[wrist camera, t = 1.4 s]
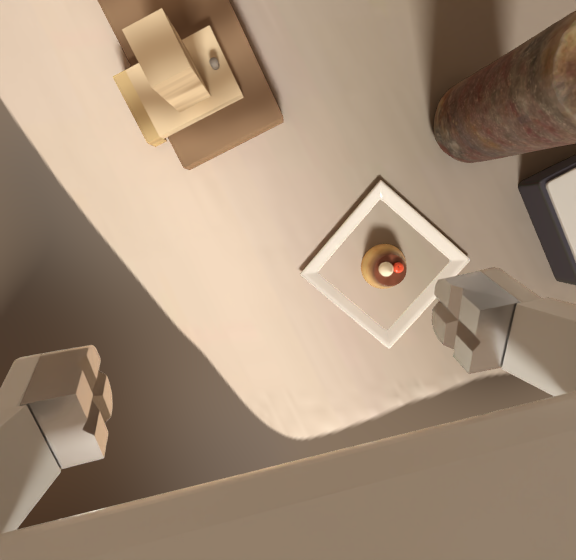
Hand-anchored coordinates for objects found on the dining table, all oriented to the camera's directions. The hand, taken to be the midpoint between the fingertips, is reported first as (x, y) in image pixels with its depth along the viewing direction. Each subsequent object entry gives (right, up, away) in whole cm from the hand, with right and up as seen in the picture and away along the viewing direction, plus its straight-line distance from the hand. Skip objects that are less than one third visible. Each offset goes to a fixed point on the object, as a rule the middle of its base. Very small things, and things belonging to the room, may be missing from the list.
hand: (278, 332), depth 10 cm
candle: (+17, +16, +31) cm, 39 cm away
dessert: (+10, +3, +34) cm, 35 cm away
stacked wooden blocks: (-9, +18, +29) cm, 35 cm away
